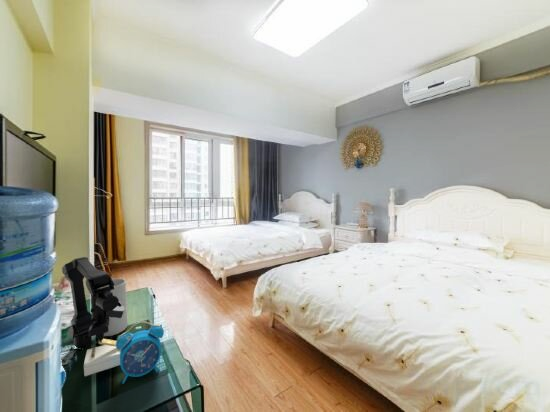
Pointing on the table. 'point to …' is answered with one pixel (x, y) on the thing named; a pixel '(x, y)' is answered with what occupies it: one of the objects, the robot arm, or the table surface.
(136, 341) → the alarm clock
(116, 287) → the cylinder vase
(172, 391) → the table surface
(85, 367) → the box
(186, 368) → the table surface
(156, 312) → the table surface
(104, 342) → the brass clasp lever
